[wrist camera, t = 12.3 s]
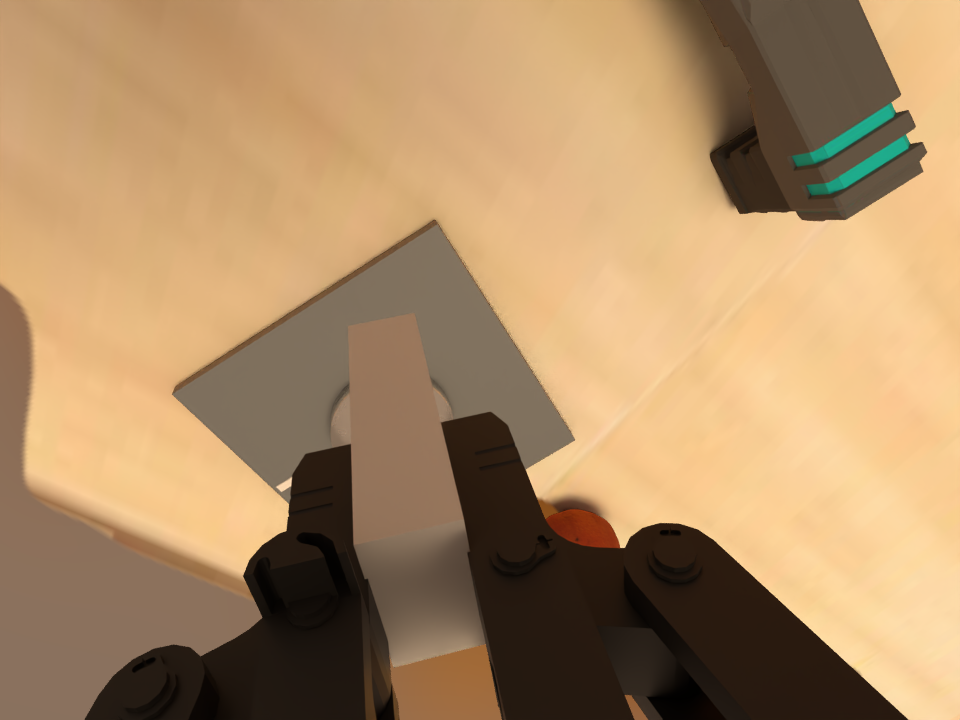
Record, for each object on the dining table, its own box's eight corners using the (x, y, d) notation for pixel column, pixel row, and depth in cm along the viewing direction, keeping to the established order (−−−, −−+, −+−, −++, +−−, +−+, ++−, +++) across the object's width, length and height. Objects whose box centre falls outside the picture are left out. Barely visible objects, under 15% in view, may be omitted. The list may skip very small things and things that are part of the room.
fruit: (609, 489, 63) (641, 547, 56) (596, 554, 67) (625, 616, 60) (523, 496, 61) (546, 556, 54) (515, 562, 65) (536, 627, 58)
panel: (175, 386, 49) (171, 395, 48) (435, 219, 46) (437, 224, 45) (357, 558, 61) (357, 569, 59) (571, 432, 58) (575, 440, 57)
